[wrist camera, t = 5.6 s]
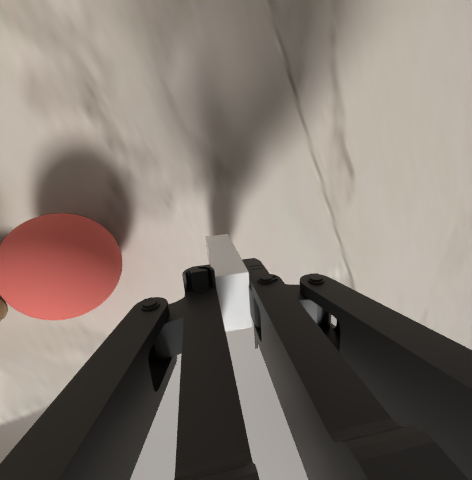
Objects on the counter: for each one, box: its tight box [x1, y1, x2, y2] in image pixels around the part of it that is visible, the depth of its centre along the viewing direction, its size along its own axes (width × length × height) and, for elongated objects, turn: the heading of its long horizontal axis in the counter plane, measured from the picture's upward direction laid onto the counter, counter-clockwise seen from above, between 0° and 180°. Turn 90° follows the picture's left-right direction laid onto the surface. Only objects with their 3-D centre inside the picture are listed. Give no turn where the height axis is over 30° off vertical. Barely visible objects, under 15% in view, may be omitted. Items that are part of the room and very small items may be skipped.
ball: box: [0, 213, 122, 320], centre depth 14 cm, size 6×6×6 cm
